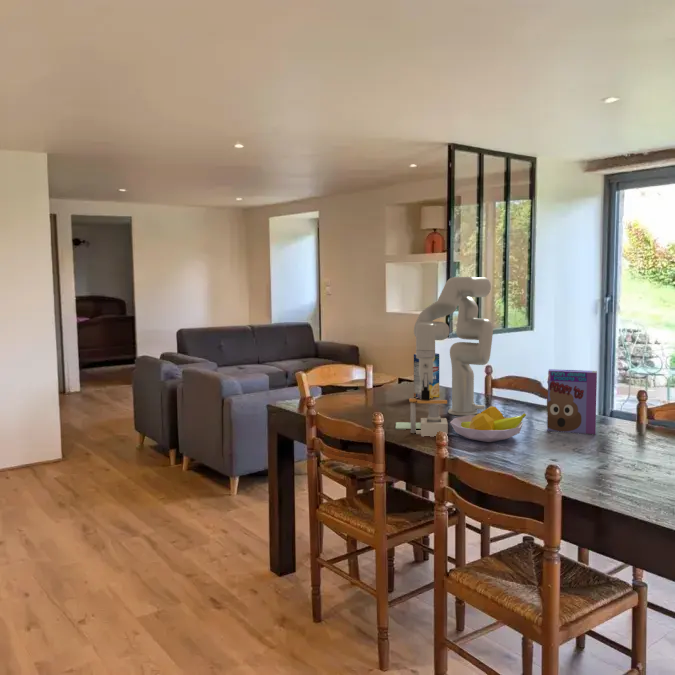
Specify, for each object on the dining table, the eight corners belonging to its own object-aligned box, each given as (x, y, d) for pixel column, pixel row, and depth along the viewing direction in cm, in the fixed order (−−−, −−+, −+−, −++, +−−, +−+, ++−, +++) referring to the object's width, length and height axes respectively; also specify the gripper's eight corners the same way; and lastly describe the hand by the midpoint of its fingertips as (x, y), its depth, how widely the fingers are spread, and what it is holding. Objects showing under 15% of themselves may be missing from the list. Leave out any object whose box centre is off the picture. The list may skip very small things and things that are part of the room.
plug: (440, 432, 255) (440, 404, 254) (440, 435, 250) (440, 406, 249) (427, 431, 255) (427, 404, 254) (427, 434, 250) (427, 406, 249)
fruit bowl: (436, 435, 250) (436, 406, 249) (488, 426, 263) (489, 398, 262) (487, 451, 226) (487, 419, 224) (542, 441, 239) (543, 410, 238)
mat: (420, 423, 269) (420, 422, 269) (420, 429, 259) (420, 428, 259) (396, 423, 270) (396, 422, 270) (395, 429, 260) (395, 427, 260)
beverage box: (413, 397, 327) (413, 354, 325) (430, 395, 333) (430, 352, 331) (422, 399, 321) (422, 355, 319) (439, 397, 327) (439, 353, 325)
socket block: (446, 430, 257) (446, 400, 256) (447, 436, 247) (447, 405, 246) (410, 430, 258) (410, 399, 257) (410, 436, 249) (410, 404, 247)
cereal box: (547, 431, 254) (548, 370, 251) (548, 428, 258) (549, 368, 256) (595, 434, 247) (596, 372, 245) (595, 431, 252) (596, 370, 249)
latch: (446, 402, 252) (446, 398, 252) (447, 403, 249) (447, 399, 249) (409, 402, 254) (409, 398, 254) (409, 403, 251) (409, 399, 251)
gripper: (435, 356, 249) (435, 403, 251) (434, 352, 264) (434, 396, 266) (416, 356, 250) (416, 403, 252) (415, 352, 265) (415, 396, 266)
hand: (425, 400), depth 259 cm, fingers closed
